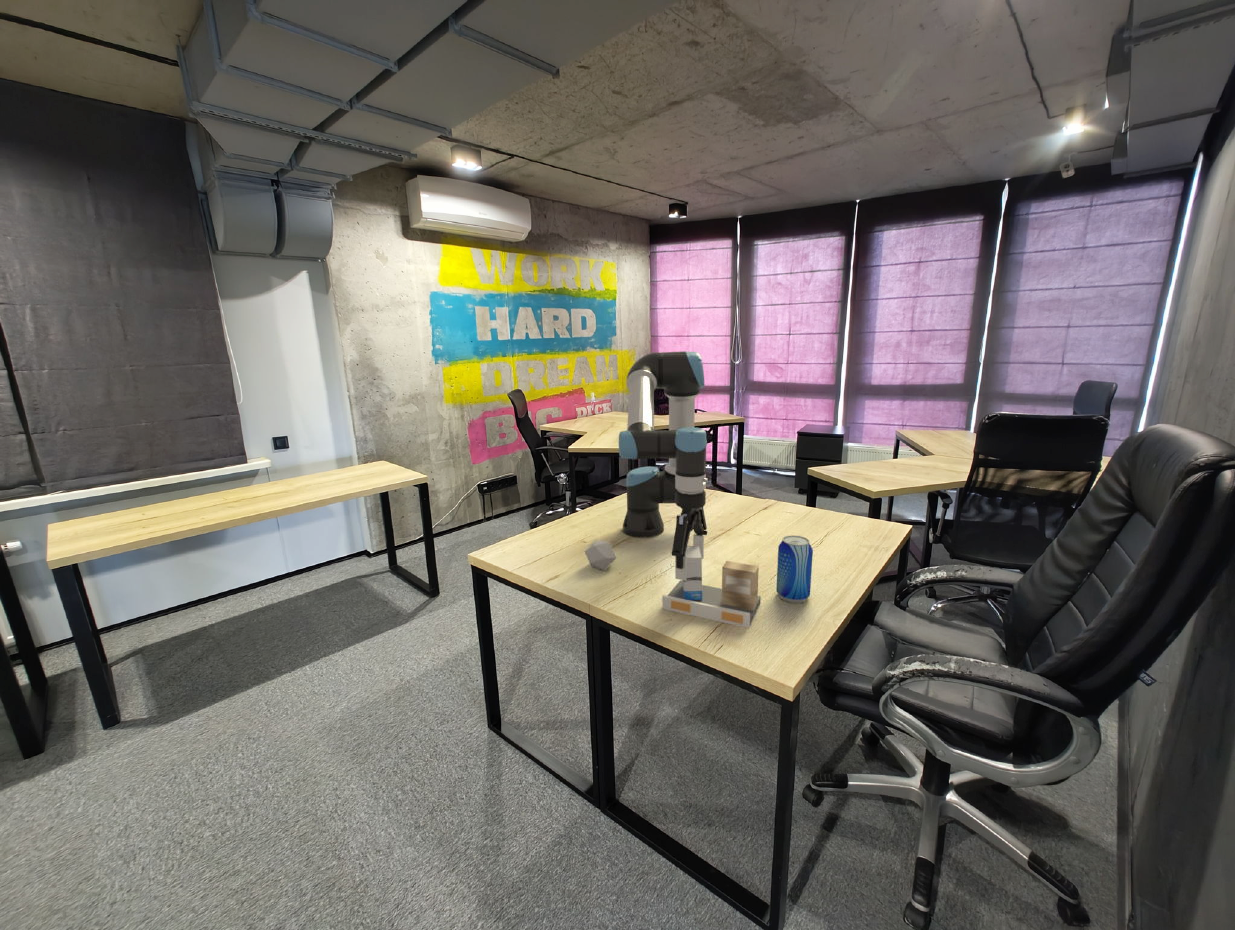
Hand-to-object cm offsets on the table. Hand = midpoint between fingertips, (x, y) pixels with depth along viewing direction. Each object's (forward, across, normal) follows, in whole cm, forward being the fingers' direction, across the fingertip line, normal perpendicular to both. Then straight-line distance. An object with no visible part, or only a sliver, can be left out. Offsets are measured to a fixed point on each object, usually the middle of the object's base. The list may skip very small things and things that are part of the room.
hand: (690, 568), depth 129 cm
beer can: (+9, +12, -24) cm, 29 cm away
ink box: (+7, 0, 0) cm, 7 cm away
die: (+10, +8, +32) cm, 34 cm away
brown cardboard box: (+7, 0, -13) cm, 15 cm away
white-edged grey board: (+9, 0, -6) cm, 11 cm away
